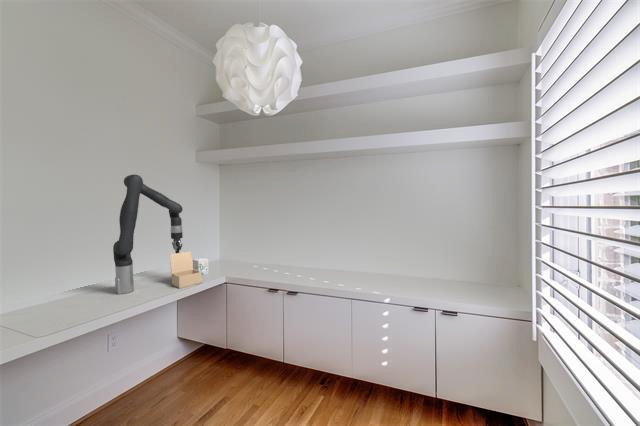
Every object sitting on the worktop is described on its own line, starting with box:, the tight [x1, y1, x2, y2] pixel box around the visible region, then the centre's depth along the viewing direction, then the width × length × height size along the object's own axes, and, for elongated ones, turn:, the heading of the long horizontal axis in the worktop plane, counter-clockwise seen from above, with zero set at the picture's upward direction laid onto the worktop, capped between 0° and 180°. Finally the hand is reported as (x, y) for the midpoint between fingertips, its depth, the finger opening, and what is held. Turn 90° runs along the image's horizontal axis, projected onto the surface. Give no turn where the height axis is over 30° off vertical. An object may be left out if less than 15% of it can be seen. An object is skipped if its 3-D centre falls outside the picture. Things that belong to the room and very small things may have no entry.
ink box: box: [192, 257, 209, 276], centre depth 229 cm, size 8×8×12 cm
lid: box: [169, 251, 193, 273], centre depth 206 cm, size 15×13×1 cm
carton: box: [170, 269, 203, 290], centre depth 201 cm, size 15×13×8 cm
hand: (177, 255), depth 210 cm, fingers closed
